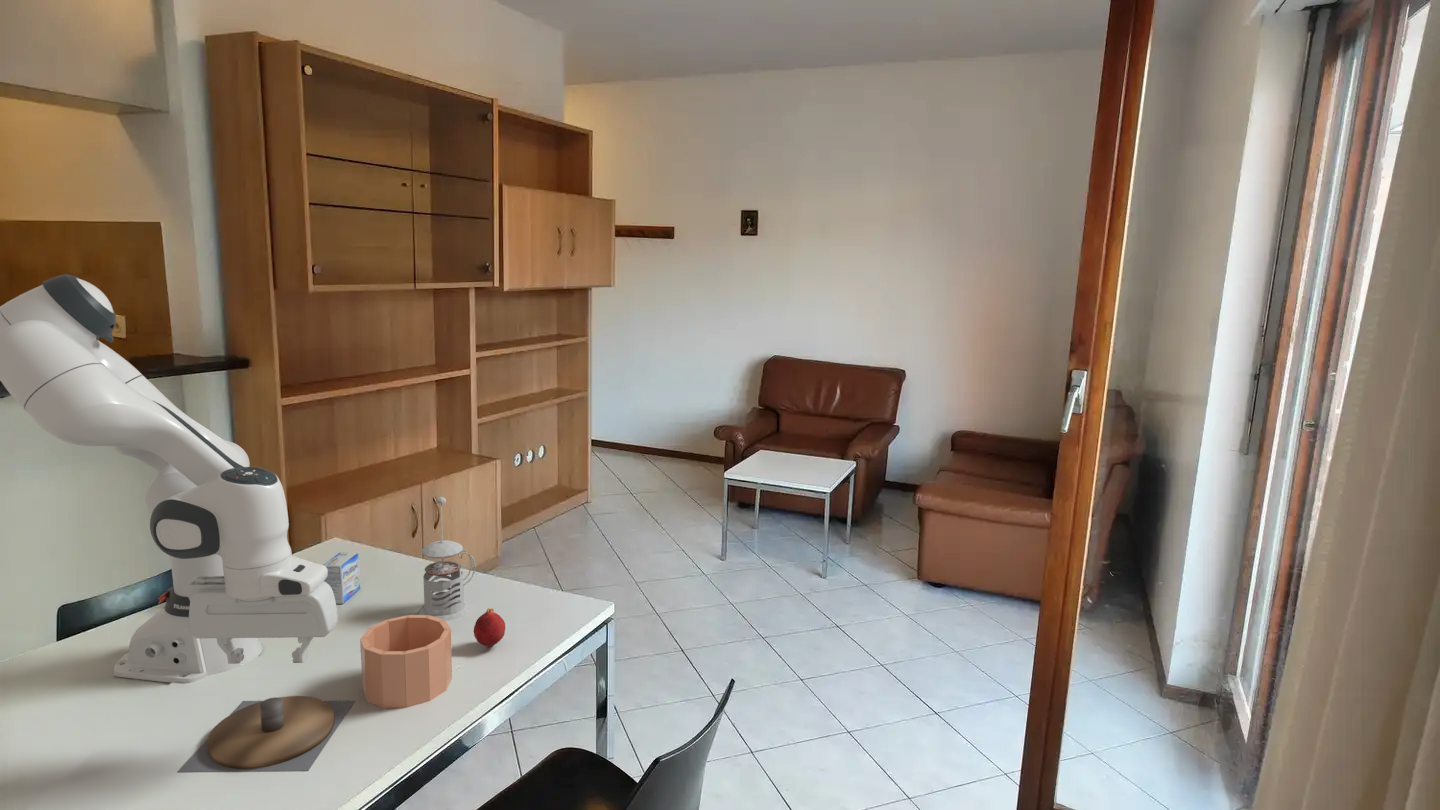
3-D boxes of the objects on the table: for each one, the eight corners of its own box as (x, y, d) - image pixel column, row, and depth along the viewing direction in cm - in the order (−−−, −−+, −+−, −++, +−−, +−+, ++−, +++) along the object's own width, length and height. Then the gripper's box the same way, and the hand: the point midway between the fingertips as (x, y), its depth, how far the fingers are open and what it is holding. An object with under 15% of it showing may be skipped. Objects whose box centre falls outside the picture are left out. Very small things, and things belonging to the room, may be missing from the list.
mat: (177, 775, 112) (177, 771, 112) (243, 703, 129) (242, 700, 129) (308, 773, 113) (308, 770, 113) (355, 703, 131) (355, 700, 131)
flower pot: (351, 710, 129) (348, 654, 127) (380, 665, 143) (378, 614, 141) (438, 709, 130) (436, 654, 128) (459, 666, 144) (458, 615, 142)
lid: (182, 769, 112) (179, 736, 111) (244, 702, 129) (242, 673, 128) (306, 768, 114) (304, 736, 113) (351, 702, 130) (349, 673, 129)
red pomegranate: (496, 656, 148) (495, 617, 146) (468, 652, 149) (467, 613, 147) (510, 642, 153) (510, 604, 152) (483, 638, 154) (482, 600, 153)
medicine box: (343, 605, 166) (341, 566, 164) (322, 604, 166) (320, 565, 164) (360, 589, 173) (359, 552, 172) (340, 588, 173) (338, 551, 172)
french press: (411, 608, 165) (407, 495, 160) (464, 594, 173) (462, 485, 168) (430, 626, 158) (426, 507, 153) (484, 610, 166) (482, 497, 161)
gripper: (173, 585, 112) (184, 673, 115) (319, 584, 113) (327, 671, 116) (199, 567, 118) (209, 651, 121) (338, 567, 120) (345, 650, 122)
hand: (268, 661), depth 119 cm, fingers open, 8 cm apart
